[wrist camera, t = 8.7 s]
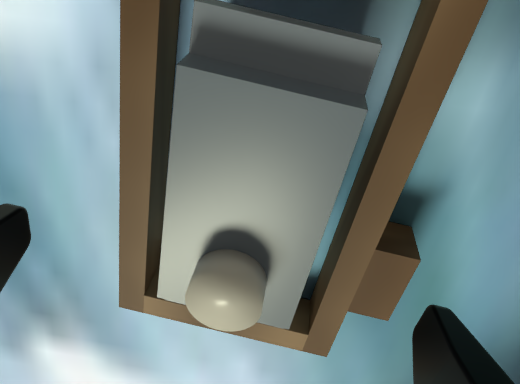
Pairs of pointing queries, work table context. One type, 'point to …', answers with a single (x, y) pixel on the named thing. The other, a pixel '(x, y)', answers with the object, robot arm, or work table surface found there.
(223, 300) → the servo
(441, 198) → the work table surface
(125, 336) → the work table surface
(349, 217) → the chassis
